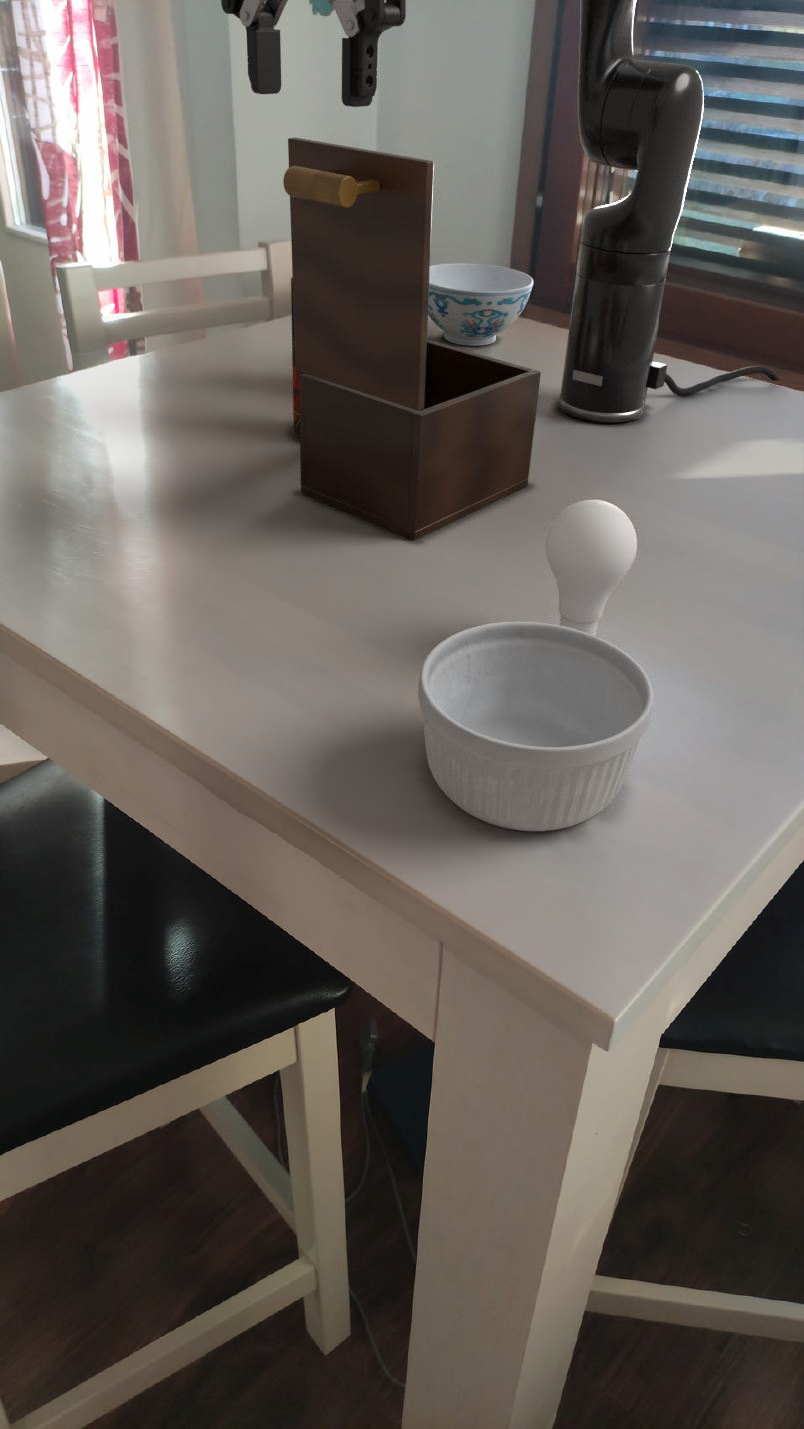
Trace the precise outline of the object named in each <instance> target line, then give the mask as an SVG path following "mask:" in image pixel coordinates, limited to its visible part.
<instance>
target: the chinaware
mask: <svg viewBox="0 0 804 1429" xmlns="http://www.w3.org/2000/svg"><path fill="white" fill-rule="evenodd" d="M533 286H534V279H533V277H532V276H531V275H529V274H527V273H525V272H523V271H520V270H517V269H513V268H510V267H505V266H500V265H492V264H484V263H466V262H465V263H464V262H459V263H457V262H456V263H455V262H452V263H440V264H434V265H430V272H429V298H428V318H429V319H430V320H431V321H432V323H434V324H435V325H436V326H437V327H438V328H439V329H440V330H442V331H443V332H444V339H445V340H446V341H448V342H450V343H452V344H457V345H461V346H468V347H469V346H471V347H476V346H477V347H480V346H488V345H491V344H493V343H495V341H496V339H497V335H499V334H500V333H502V332H503V331H505V330H506V329H507V328H509V327H510V326H511V325H512V324H513V323H514V322H515V321H516V320H517V319H518V317H520V315H521V313H523V310H524V309H525V307H526V305H527V303H528V301H529V298H530V295H531V292H532V289H533Z"/></svg>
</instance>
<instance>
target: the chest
mask: <svg viewBox="0 0 804 1429" xmlns="http://www.w3.org/2000/svg"><path fill="white" fill-rule="evenodd" d="M541 373H542V371H540V370H536V369H532V368H529V367H526V366H522V365H519V364H515V363H512V362H508V361H504V360H502V359H497V358H494V357H491V356H487V355H484V354H481V353H476V352H473V351H471V350H466V349H462V348H459V347H457V346H452V345H448V344H445V343H443V342H442V343H441V342H438V341H435V340H432V339H428V338H427V348H426V373H425V399H424V409H421V410H419V411H417V410H414V409H411V408H408V407H405V406H402V405H399V404H396V403H393V402H390V401H387V400H384V399H381V398H378V397H375V396H372V395H369V394H366V393H363V392H360V391H357V390H354V389H351V388H348V387H345V386H342V385H339V384H336V383H333V382H330V381H327V380H324V379H321V378H318V377H315V376H312V375H309V374H306V373H304V374H300V375H299V400H300V439H299V456H300V457H299V459H300V460H299V461H300V462H299V463H300V466H299V467H300V493H301V494H302V495H304V496H307V497H309V498H312V499H313V500H316V501H319V502H321V503H323V504H326V505H329V506H331V507H334V508H335V509H338V510H341V511H343V512H345V513H347V514H350V515H351V516H352V515H353V516H355V517H357V518H360V519H362V520H365V521H367V522H368V523H372V524H374V525H377V526H378V527H382V528H384V529H386V530H389V531H391V532H393V533H396V534H398V535H401V536H403V537H405V538H408V539H410V540H412V541H416V540H418V539H420V538H422V537H425V536H426V535H428V534H430V533H432V532H434V531H437V530H439V529H441V528H443V527H445V526H447V525H450V524H451V523H453V522H456V521H457V520H460V519H462V518H464V517H466V516H468V515H470V514H472V513H474V512H476V511H478V510H481V509H483V508H485V507H487V506H489V505H491V504H493V503H495V502H497V501H500V500H501V499H504V498H505V497H508V496H509V495H511V494H514V493H516V492H518V491H520V490H523V489H524V488H527V487H528V485H529V484H528V483H529V477H530V476H529V475H530V468H531V460H532V453H533V452H532V451H533V442H534V434H535V427H536V416H537V410H538V409H537V408H538V401H539V392H540V384H541V375H542V374H541Z"/></svg>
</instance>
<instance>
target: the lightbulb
mask: <svg viewBox="0 0 804 1429" xmlns="http://www.w3.org/2000/svg"><path fill="white" fill-rule="evenodd" d="M637 550H638V537H637V532H636V530H635V527H634V525H633V523H632V521H631V520H630V517H629V516H628V515H627V514H626V513H625V512H624V511H623V510H622V509H621V508H620V507H618V506H616V505H614V504H612V503H610V502H608V501H605V500H601V499H587V500H580V501H578V502H575V503H572V504H570V505H568V506H567V507H565V508H564V509H563V510H562V511H561V512H560V513H558V515H557V516H556V517H555V518H554V519H553V520H552V522H551V524H550V526H549V529H548V531H547V534H546V538H545V554H546V559H547V562H548V565H549V566H550V570H551V573H552V574H553V577H554V579H555V581H556V585H557V590H558V612H559V614H560V618H559V625H560V626H564V627H569V628H572V629H576V630H579V631H583V632H585V633H588V634H591V635H594V636H596V632H597V629H598V624H599V620H600V619H601V618H602V617H603V615H604V611H605V606H606V604H607V602H608V599H609V597H610V595H611V594H612V592H613V590H614V589H615V588H616V587H617V585H618V584H619V583H620V582H622V580H623V579H624V577H625V576H626V575H627V573H628V572H629V571H630V569H631V567H632V566H633V564H634V562H635V559H636V556H637Z"/></svg>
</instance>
